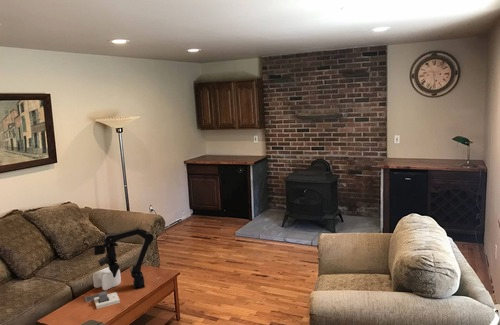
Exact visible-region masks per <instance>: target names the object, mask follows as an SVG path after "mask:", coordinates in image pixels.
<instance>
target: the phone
mask: <svg viewBox="0 0 500 325" xmlns="http://www.w3.org/2000/svg"><path fill="white" fill-rule="evenodd" d="M106 293H107V295H108V294H109V293H108V292H107V291H106ZM96 297H99V293H97V294H93V295H89V296H85V297H84V301H85V303H89V302H94V298H96Z"/></svg>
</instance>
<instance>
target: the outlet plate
mask: <svg viewBox="0 0 500 325" xmlns="http://www.w3.org/2000/svg"><path fill="white" fill-rule="evenodd" d="M107 294H108V295H107V299H108V301H106V302H102V303H100V302H99V297H96V298H94V301H93V302H94V304H95V308H96V310H98V309H101V308H106V307H109V306H113V305H118V304H121V299H120V297H119V296H118V292H112V293H107Z"/></svg>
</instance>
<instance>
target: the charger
mask: <svg viewBox="0 0 500 325" xmlns="http://www.w3.org/2000/svg"><path fill="white" fill-rule="evenodd" d="M106 292H107V290H103V291H101V292H98V294H99V302H100V303H102V302H106V301H108V299H107V294H108V292H107V293H106Z"/></svg>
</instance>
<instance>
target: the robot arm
mask: <svg viewBox="0 0 500 325" xmlns="http://www.w3.org/2000/svg"><path fill="white" fill-rule="evenodd" d="M137 235H138V236H139V237H141V238H142V241H143V242H142V244H141V247H140V251H139V253H138V256H137V258H136V261H135V262H134V264H131V267H130V269H129V270H130V276H131V277H132V279H133V281H132V285H133V288H134V289H135V290H139V289H143V288H146V285H145V277H144V273H143V271H141V270H142V265H143V262H144V260H145V257H146V254H147V253H148V252H147V251H148V249H149V247H150V246H151V244H152V242H153V241H154V238H155V237H154V235H153V233H152V232H151V231H148V230H146V229H143V228H140V227H136V228H132V229H127V230H124V231H121V232H110V233H107V234H106V235H105V236H104V240H103V242H102V243H100V244H94V245H93V246H94V247H93V249H94V250H93V251H94V256H99V255H105V256H103V257H102V258H100V259H98V260H97V262H98V264H99V266H100V267H103V266H104V265H108V267H109V270H110V271H111V272H112V274H113V277H116V274H117V271H118V269H119V270H120V264H119V263H118V260H117V252H116V247H118V246H119V244H118V241H119V240H120V241H121V240H122V239H126V238H129V237H130V238H131V237H134V236H137Z"/></svg>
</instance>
